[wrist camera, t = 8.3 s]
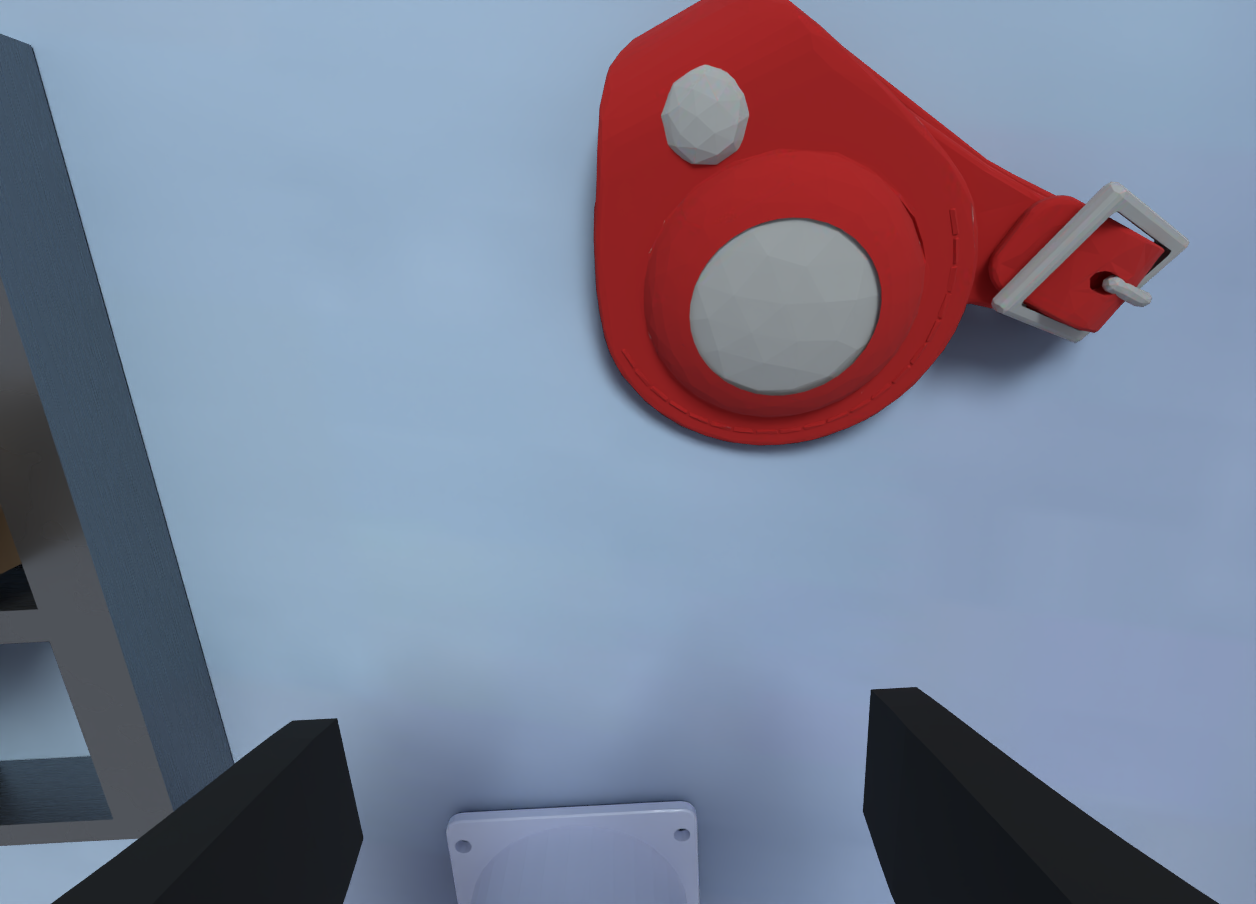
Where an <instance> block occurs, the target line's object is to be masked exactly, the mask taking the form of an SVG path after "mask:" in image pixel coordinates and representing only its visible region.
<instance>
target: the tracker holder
mask: <svg viewBox="0 0 1256 904" xmlns="http://www.w3.org/2000/svg"><path fill="white" fill-rule="evenodd" d="M1115 212H1118V213H1120V214H1121V215H1122V216H1124V217H1125V218H1126V219H1127V220H1129V221H1130V222H1131V223H1133V224H1134V225H1135V226H1137V227H1138V228H1139V229H1141V230H1142V231H1143V232H1145V233H1146V234H1147V235H1149V236H1150V237H1151V238H1153V239H1154V240H1155V241H1154V242H1152V241H1150V240H1148V239H1147V238H1145V237H1143V236H1141V235H1140V234H1138V233H1136V232H1134V231H1133V230H1131V229H1129V228H1127V227H1125V226H1124V225H1122V224H1120V223H1118V222H1116V221H1115V220H1113V219H1111V218H1109V217H1110V216H1111V215H1112V214H1113V213H1115ZM1188 244H1189V241H1188V239H1187V238H1186V237H1184V236H1183V235H1182V234H1181V233H1180V232H1178V231H1177V230H1176V229H1175V228H1174V227H1172V226H1171V225H1170V224H1169V223H1167V222H1166V221H1165V220H1164V219H1163V218H1161V217H1160V216H1159V215H1158V214H1157V213H1155V212H1154V211H1153V210H1152V209H1150V208H1149V207H1148V206H1147V205H1146V204H1144V203H1143V202H1142V201H1141V200H1140V199H1138V198H1137V197H1136V196H1135V195H1133V194H1132V193H1131V192H1130V191H1129V190H1127V189H1126V188H1125V187H1124V186H1122V185H1121V184H1120V183H1117V182H1110V183H1108V184H1106V185H1105V186H1103V187H1102V188H1101V189H1100V190H1099V191H1098V192H1097V193H1096V194H1095V195H1094V196H1093V197H1092V198H1091V199H1090V200H1089V202H1088V203H1087V204H1084V203H1082V202H1081V201H1079V200H1077V199H1075V198H1073V197H1070V196H1064V195H1060V196H1056V195H1054V194H1052V193H1050V192H1048V191H1046V190H1044V189H1042V188H1040V187H1038V186H1036V185H1034V184H1032V183H1030V182H1028V181H1026V180H1024V179H1022V178H1020V177H1018V176H1016V175H1014V174H1012V173H1010V172H1008V171H1006V170H1005V169H1003V168H1001V167H999V166H998V165H996V164H994V163H992V162H990V161H989V160H987V159H986V158H984V157H983V156H982V155H981V154H979V153H978V152H977V151H975V150H974V149H973V148H972V147H970V146H969V145H968V144H967V143H965V142H964V141H963V140H961V139H960V138H959V137H958V136H956V135H955V134H954V133H953V132H951V131H950V130H949V129H947V128H946V127H945V126H944V125H942V124H941V123H940V122H939V121H937V120H936V119H935V118H933V117H932V116H931V115H930V114H928V113H927V112H926V111H925V110H923V109H922V108H921V107H919V106H918V105H917V104H916V103H914V102H913V101H912V100H911V99H909V98H908V97H907V96H905V95H904V94H903V93H902V92H900V91H899V90H898V89H897V88H895V87H894V86H893V85H891V84H890V83H889V82H888V81H886V80H885V79H884V78H883V77H881V76H880V75H879V74H877V73H876V72H875V71H874V70H872V69H871V68H870V67H869V66H867V65H866V64H865V63H863V62H862V61H861V60H860V59H858V58H857V57H856V56H855V55H853V54H852V53H851V52H849V51H848V50H847V49H846V48H844V47H843V46H842V45H841V44H840V43H839V42H838V41H836V40H835V39H834V38H833V37H832V36H831V35H830V34H829V33H828V32H827V31H826V30H825V29H823V28H822V27H821V26H820V25H819V24H818V23H816V22H815V21H814V20H813V19H811V18H810V17H809V16H808V15H807V14H805V13H804V12H803V11H802V10H800V9H799V8H798V7H797V6H795V5H794V4H793V3H792V2H790V1H789V0H701V1H699V2H697V3H695V4H694V5H692V6H690V7H688V8H687V9H685V10H683V11H682V12H680V13H678V14H676V15H675V16H673V17H671V18H669V19H668V20H666V21H664V22H663V23H661V24H659V25H657V26H656V27H654V28H652V29H650V30H649V31H647V32H645V33H644V34H642V35H640V36H638V37H637V38H635V39H633V40H632V41H631V42H630V43H629V44H628V45H627V46H626V47H625V48H624V49H623V50H622V51H621V52H620V53H619V54H618V56H617V57H616V59H615V60H614V61H613V63H612V64H611V66H610V67H609V70H608V73H607V76H606V81H605V85H604V90H603V94H602V99H601V104H600V110H599V128H598V147H597V182H596V202H595V207H594V255H595V275H596V290H597V297H598V304H599V311H600V317H601V322H602V327H603V332H604V337H605V340H606V343H607V346H608V349H609V351H610V354H611V356H612V358H613V360H614V362H615V364H616V365H617V367H618V369H619V371H620V372H621V374H622V376H623V377H624V378H625V379H626V380H627V381H628V383H629V384H630V385H631V386H632V387H633V388H634V389H635V390H636V391H637V393H638V394H639V395H640V396H641V397H642V398H643V399H644V400H645V401H646V402H647V403H648V404H650V405H651V406H652V407H653V408H655V409H656V410H657V411H659V412H660V413H661V414H663V415H664V416H666V417H667V418H669V419H671V420H672V421H674V422H676V423H677V424H679V425H681V426H683V427H685V428H688V429H690V430H693V431H695V432H698V433H700V434H703V435H705V436H709V437H712V438H716V439H719V440H723V441H727V442H732V443H742V444H752V445H781V444H791V443H799V442H804V441H809V440H813V439H817V438H821V437H824V436H828V435H830V434H833V433H835V432H838V431H841V430H843V429H846V428H849V427H851V426H853V425H855V424H857V423H860V422H862V421H864V420H866V419H868V418H869V417H871V416H873V415H875V414H876V413H878V412H879V411H881V410H882V409H884V408H885V407H886V406H888V405H889V404H891V403H892V402H893V401H895V400H896V399H898V398H899V397H900V396H901V395H903V394H904V393H905V392H906V391H907V390H908V389H910V388H911V387H912V386H913V385H914V384H915V383H916V382H917V381H918V380H919V379H920V378H921V376H922V375H923V374H924V373H925V372H926V371H927V370H928V368H929V367H930V366H931V365H932V364H933V363H934V361H935V360H936V359H937V358H938V356H939V355H940V354H941V353H942V351H943V350H944V349H945V347H946V345H947V344H948V342H949V340H950V339H951V337H952V335H953V334H954V332H955V331H956V328H957V326H958V324H959V322H960V319H961V317H962V315H963V313H964V311H965V308H966V304H974V305H978V306H983V307H988V308H992V309H994V310H996V311H997V312H999V313H1001V314H1004V315H1006V316H1009V317H1011V318H1014V319H1016V320H1019V321H1021V322H1024V323H1026V324H1029V325H1031V326H1034V327H1036V328H1039V329H1041V330H1044V331H1046V332H1049V333H1051V334H1054V335H1056V336H1059V337H1061V338H1063V339H1066V340H1068V341H1071V342H1074V343H1076V342H1078V341H1080V340H1082V339H1083V338H1084V337H1085V336H1086V335H1087V334H1089V333H1090V332H1093V333H1095V332H1097V331H1098V330H1099V329H1100V328H1101V327H1102V326H1103V325H1104V324H1105V323H1106V321H1107V320H1108V319H1109V318H1110V317H1111V316H1112V315H1113V314H1114V312H1115V311H1116V310H1117V309H1118V308H1119V307H1120V306H1121V305H1122V304H1123V303H1124V302H1125V301H1126V302H1128V303H1130V304H1132V305H1134V306H1139V307H1144V306H1146V305H1147V304H1149V303H1150V302H1151V299H1152V297H1151V295H1150V294H1149V293H1148V292H1145V291H1143V290H1141V289H1140V288H1141V287H1142V286H1143V285H1144V284H1146V283H1147V282H1148V281H1149V280H1150V279H1151V278H1152V277H1154V276H1155V275H1156V274H1157V273H1158V272H1159V271H1160V270H1161V269H1163V268H1164V267H1165V266H1166V265H1167V264H1168V263H1169V262H1171V261H1172V260H1173V259H1174V258H1175V257H1176V256H1177V255H1179V254H1180V253H1181V252H1182V251H1183V250H1184V249H1185V248H1187V246H1188Z"/></svg>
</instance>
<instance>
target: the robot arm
mask: <svg viewBox="0 0 1256 904" xmlns="http://www.w3.org/2000/svg"><path fill="white" fill-rule="evenodd" d="M863 813H864V816H865V819H866V822H867V825H868V828H869V831H870V834H871V837H872V840H873V843H874V846H875V849H876V852H877V855H878V858H879V861H880V864H881V867H882V870H883V872H884V875H885V878H886V881H887V884H888V887H889V889H890V892H891V895H892V897H893V900H894V902H895V904H1219V903H1217V902H1216V901H1214V900H1213V899H1211V898H1210V897H1208V896H1207V895H1205V894H1203V893H1202V892H1200V891H1199V890H1197V889H1196V888H1194V887H1193V886H1191V885H1190V884H1188V883H1187V882H1185V881H1184V880H1182V879H1181V878H1179V877H1178V876H1177V875H1175V874H1174V873H1172V872H1171V871H1169V870H1168V869H1166V868H1165V867H1163V866H1162V865H1160V864H1159V863H1157V862H1156V861H1154V860H1153V859H1151V858H1150V857H1148V856H1147V855H1145V854H1144V853H1142V852H1141V851H1139V850H1138V849H1136V848H1135V847H1133V846H1132V845H1130V844H1129V843H1128V842H1126V841H1125V840H1123V839H1122V838H1120V837H1119V836H1117V835H1116V834H1115V833H1113V832H1112V831H1110V830H1109V829H1108V828H1106V827H1105V826H1103V825H1102V824H1100V823H1099V822H1098V821H1096V820H1095V819H1093V818H1092V817H1090V816H1089V815H1088V814H1086V813H1085V812H1083V811H1082V810H1081V809H1079V808H1078V807H1077V806H1075V805H1074V804H1072V803H1071V802H1070V801H1068V800H1067V799H1065V798H1064V797H1063V796H1061V795H1060V794H1059V793H1057V792H1056V791H1055V790H1053V789H1052V788H1050V787H1049V786H1048V785H1046V784H1045V783H1044V782H1042V781H1041V780H1040V779H1038V778H1037V777H1035V776H1034V775H1033V774H1031V773H1030V772H1029V771H1027V770H1026V769H1025V768H1023V767H1022V766H1021V765H1019V764H1018V763H1017V762H1015V761H1014V760H1013V759H1011V758H1010V757H1009V756H1007V755H1006V754H1005V753H1004V752H1002V751H1001V750H1000V749H998V748H997V747H996V746H994V745H993V744H992V743H990V742H989V741H988V740H986V739H985V738H984V737H982V736H981V735H980V734H978V733H977V732H976V731H975V730H973V729H972V728H971V727H969V726H968V725H967V724H965V723H964V722H963V721H961V720H960V719H959V718H957V717H956V716H955V715H954V714H952V713H951V712H950V711H948V710H947V709H946V708H944V707H943V706H942V705H940V704H939V703H938V702H936V701H935V700H934V699H932V698H931V697H929V696H928V695H927V694H925V693H924V692H922V691H921V690H920V689H918V688H917V687H910V688H892V689H873V690H871V695H870V710H869V726H868V741H867V757H866V772H865V788H864V803H863ZM681 828H682V829H686V830H683V831H678V829H681ZM446 837H447V843H448V849H449V854H450V860H451V866H452V872H453V878H454V883H455V889H456V895H457V901H458V904H699V870H698V836H697V817H696V811H695V808H694V807H693V806H692V805H691V804H690V803H688V802H684V801H672V802H653V803H634V804H615V805H597V806H578V807H559V808H540V809H522V810H503V811H484V812H465V813H458V814H455V815H454V816H452V817H451V818H450V820H449V822H448V825H447V829H446ZM461 840H465V841H468V842H463V841H461ZM362 841H363V834H362V829H361V825H360V820H359V816H358V811H357V807H356V802H355V798H354V793H353V788H352V784H351V779H350V775H349V770H348V766H347V761H346V757H345V752H344V747H343V743H342V738H341V734H340V729H339V725H338V720H337V718H335V719H316V720H297V721H291V722H290V723H288V724H287V725H286V726H284V727H283V728H281V729H280V730H279V731H277V732H276V733H274V734H273V735H272V736H270V737H269V738H268V739H266V740H265V741H264V742H262V743H261V744H260V745H258V746H257V747H256V748H254V749H253V750H252V751H250V752H249V753H248V754H247V755H245V756H244V757H243V758H241V759H240V760H239V761H238V762H236V763H235V764H234V765H232V766H231V767H230V768H229V769H227V770H226V771H225V772H224V773H222V774H221V775H220V776H218V777H217V778H216V779H215V780H213V781H212V782H211V783H210V784H208V785H207V786H206V787H204V788H203V789H202V790H201V791H199V792H198V793H197V794H196V795H194V796H193V797H192V798H190V799H189V800H188V801H187V802H185V803H184V804H183V805H181V806H180V807H179V808H177V809H176V810H175V811H174V812H172V813H171V814H170V815H168V816H167V817H166V818H165V819H163V820H162V821H161V822H159V823H158V824H157V825H156V826H154V827H153V828H152V829H150V830H149V831H148V832H147V833H145V834H144V835H143V836H141V837H140V838H139V839H138V840H136V841H135V842H134V843H132V844H131V845H130V846H129V847H127V848H126V849H125V850H123V851H122V852H121V853H119V854H118V855H117V856H115V857H114V858H113V859H111V860H110V861H109V862H107V863H106V864H105V865H103V866H102V867H100V868H99V869H98V870H96V871H95V872H94V873H92V874H91V875H90V876H88V877H87V878H85V879H84V880H83V881H81V882H80V883H79V884H77V885H76V886H75V887H73V888H72V889H70V890H69V891H68V892H66V893H65V894H64V895H62V896H61V897H60V898H58V899H57V900H56V901H54V902H53V903H51V904H343V902H344V899H345V896H346V893H347V890H348V887H349V884H350V880H351V877H352V874H353V871H354V867H355V864H356V861H357V857H358V854H359V851H360V848H361V844H362Z"/></svg>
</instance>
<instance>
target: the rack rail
mask: <svg viewBox="0 0 1256 904" xmlns="http://www.w3.org/2000/svg"><path fill="white" fill-rule="evenodd" d="M0 504H1V507H2V510H3V513H4V516H5V518H6V521H7V524H8V527H9V530H10V532H11V535H12V538H13V541H14V544H15V546H16V549H17V552H18V555H19V557H20V560H21V563H22V566H23V569H10V570H8V571H6V572H4V573H2V574H0V644H10V643H28V642H47V641H50V644H51V647H52V649H53V652H54V655H55V658H56V661H57V663H58V666H59V669H60V672H61V675H62V677H63V680H64V683H65V686H66V689H67V691H68V694H69V697H70V700H71V702H72V705H73V708H74V711H75V714H76V716H77V719H78V722H79V725H80V728H81V730H82V733H83V736H84V739H85V742H86V744H87V747H88V750H89V753H90V755H91V757H75V758H56V759H38V760H19V761H0V846H7V845H26V844H44V843H63V842H82V841H101V840H119V839H138V838H140V837H141V836H143V835H144V834H145V833H147V832H148V831H149V830H150V829H152V828H153V827H154V826H156V825H157V824H158V823H159V822H161V821H162V820H163V819H165V818H166V817H167V816H168V815H170V814H171V813H172V812H174V811H175V810H176V809H177V808H179V807H180V806H181V805H183V804H184V803H185V802H187V801H188V800H189V799H190V798H192V797H193V796H194V795H196V794H197V793H198V792H199V791H201V790H202V789H203V788H204V787H206V786H207V785H208V784H210V783H211V782H212V781H213V780H215V779H216V778H217V777H218V776H220V775H221V774H222V773H224V772H225V771H226V770H227V769H229V768H230V767H231V766H232V765H234V764H233V760H232V757H231V753H230V750H229V746H228V742H227V739H226V735H225V732H224V728H223V725H222V721H221V718H220V714H219V710H218V707H217V703H216V700H215V696H214V693H213V689H212V686H211V682H210V679H209V675H208V671H207V668H206V664H205V661H204V657H203V654H202V650H201V647H200V643H199V640H198V636H197V632H196V629H195V625H194V622H193V618H192V615H191V611H190V608H189V604H188V600H187V597H186V593H185V590H184V586H183V583H182V579H181V576H180V572H179V569H178V565H177V561H176V558H175V554H174V551H173V547H172V544H171V540H170V537H169V533H168V530H167V526H166V522H165V519H164V515H163V512H162V508H161V505H160V501H159V498H158V494H157V490H156V487H155V483H154V480H153V476H152V473H151V469H150V466H149V462H148V459H147V455H146V451H145V448H144V444H143V441H142V437H141V434H140V430H139V427H138V423H137V420H136V416H135V412H134V409H133V405H132V402H131V398H130V395H129V391H128V388H127V384H126V380H125V377H124V373H123V370H122V366H121V363H120V359H119V356H118V352H117V349H116V345H115V341H114V338H113V334H112V331H111V327H110V324H109V320H108V317H107V313H106V310H105V306H104V302H103V299H102V295H101V292H100V288H99V285H98V281H97V278H96V274H95V270H94V267H93V263H92V260H91V256H90V253H89V249H88V246H87V242H86V239H85V235H84V231H83V228H82V224H81V221H80V217H79V214H78V210H77V207H76V203H75V200H74V196H73V192H72V189H71V185H70V182H69V178H68V175H67V171H66V168H65V164H64V160H63V157H62V153H61V150H60V146H59V143H58V139H57V136H56V132H55V129H54V125H53V121H52V118H51V114H50V111H49V107H48V104H47V100H46V97H45V93H44V90H43V86H42V82H41V79H40V75H39V72H38V68H37V65H36V61H35V58H34V54H33V50H32V47H31V45H29V44H26V43H24V42H21V41H18V40H16V39H13V38H10V37H8V36H5V35H2V34H0Z"/></svg>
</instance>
